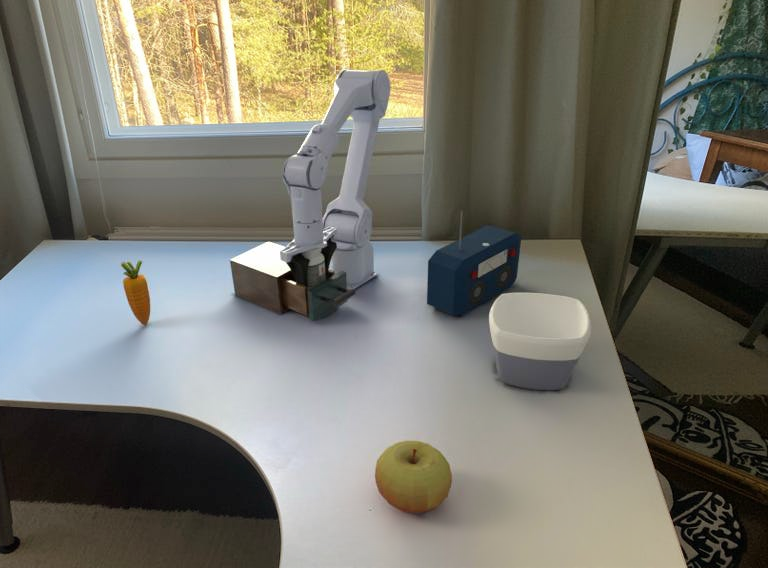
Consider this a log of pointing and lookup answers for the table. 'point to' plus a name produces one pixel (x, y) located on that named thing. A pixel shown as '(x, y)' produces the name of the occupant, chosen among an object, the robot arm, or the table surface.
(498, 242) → the radio
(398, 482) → the apple
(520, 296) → the bowl
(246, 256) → the cabinet
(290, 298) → the drawer
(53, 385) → the table surface
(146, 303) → the carrot
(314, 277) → the pill bottle
